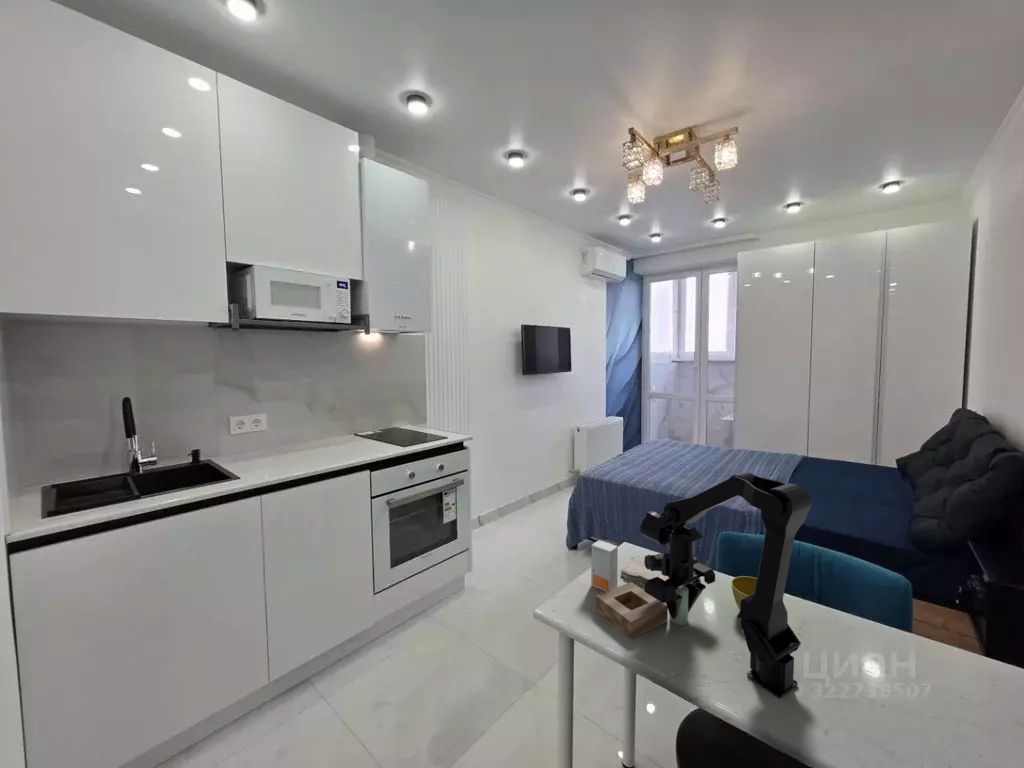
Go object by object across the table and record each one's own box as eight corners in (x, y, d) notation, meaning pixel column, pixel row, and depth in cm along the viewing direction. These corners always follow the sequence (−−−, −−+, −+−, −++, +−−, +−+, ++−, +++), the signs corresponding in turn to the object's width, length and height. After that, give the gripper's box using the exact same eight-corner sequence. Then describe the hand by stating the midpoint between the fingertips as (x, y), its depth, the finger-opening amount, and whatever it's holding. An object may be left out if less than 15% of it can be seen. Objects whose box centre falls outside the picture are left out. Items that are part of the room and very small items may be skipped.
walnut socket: (667, 621, 102) (667, 605, 102) (630, 638, 97) (630, 621, 96) (630, 596, 113) (630, 581, 112) (595, 610, 107) (595, 595, 107)
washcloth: (633, 561, 132) (633, 552, 132) (694, 579, 121) (694, 568, 121) (618, 578, 122) (618, 568, 122) (683, 599, 112) (684, 588, 112)
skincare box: (590, 586, 118) (590, 544, 117) (598, 579, 121) (598, 539, 120) (610, 594, 114) (610, 551, 113) (618, 587, 117) (618, 545, 116)
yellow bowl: (785, 617, 103) (786, 589, 102) (765, 634, 97) (766, 604, 97) (743, 598, 111) (744, 571, 111) (722, 612, 106) (723, 584, 105)
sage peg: (691, 621, 102) (692, 589, 101) (680, 627, 100) (680, 594, 100) (677, 612, 106) (678, 582, 105) (666, 617, 104) (667, 586, 103)
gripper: (679, 531, 113) (678, 588, 114) (627, 548, 104) (626, 609, 105) (717, 547, 103) (716, 609, 104) (664, 567, 94) (663, 635, 95)
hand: (679, 615), depth 102 cm, fingers open, 4 cm apart
